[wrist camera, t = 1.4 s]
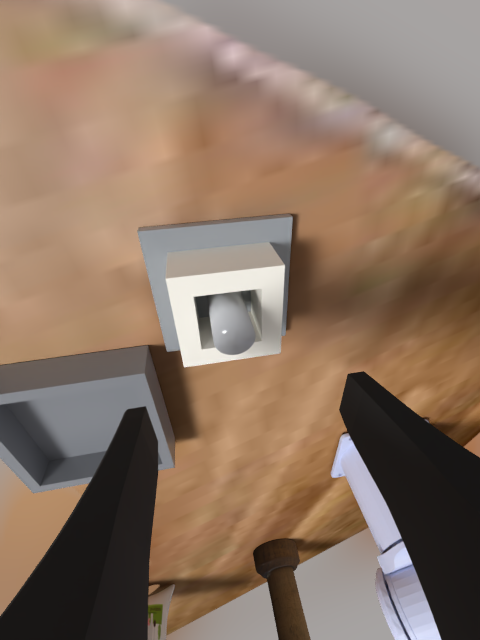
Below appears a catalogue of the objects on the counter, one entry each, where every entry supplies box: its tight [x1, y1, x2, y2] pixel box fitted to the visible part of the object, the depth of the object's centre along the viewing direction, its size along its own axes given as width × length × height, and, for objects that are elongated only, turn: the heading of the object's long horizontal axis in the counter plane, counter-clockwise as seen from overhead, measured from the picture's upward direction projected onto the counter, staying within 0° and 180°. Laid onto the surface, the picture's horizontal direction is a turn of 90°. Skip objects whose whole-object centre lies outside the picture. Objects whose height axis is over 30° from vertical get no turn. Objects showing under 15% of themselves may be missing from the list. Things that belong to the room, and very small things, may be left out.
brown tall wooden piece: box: [253, 539, 310, 640], centre depth 38 cm, size 7×6×18 cm
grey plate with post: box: [137, 214, 293, 355], centre depth 16 cm, size 8×8×5 cm
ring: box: [165, 242, 285, 367], centre depth 16 cm, size 6×6×3 cm
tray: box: [0, 345, 175, 493], centre depth 21 cm, size 11×11×3 cm
